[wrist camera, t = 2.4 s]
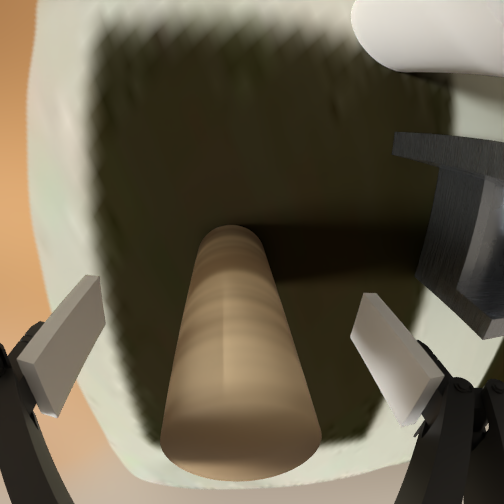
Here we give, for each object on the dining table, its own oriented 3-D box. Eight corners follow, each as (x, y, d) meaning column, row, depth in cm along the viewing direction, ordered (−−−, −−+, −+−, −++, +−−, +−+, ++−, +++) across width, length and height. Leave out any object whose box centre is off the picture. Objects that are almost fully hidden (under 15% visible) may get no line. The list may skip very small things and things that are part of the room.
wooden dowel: (199, 222, 19) (150, 395, 6) (268, 227, 19) (341, 398, 6) (196, 284, 20) (168, 477, 7) (260, 289, 21) (301, 478, 8)
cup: (458, 62, 16) (579, 51, 4) (386, 110, 17) (533, 108, 6) (392, -31, 13) (486, -95, 1) (305, 3, 14) (385, -105, 3)
